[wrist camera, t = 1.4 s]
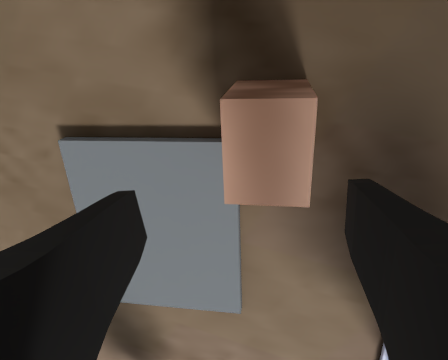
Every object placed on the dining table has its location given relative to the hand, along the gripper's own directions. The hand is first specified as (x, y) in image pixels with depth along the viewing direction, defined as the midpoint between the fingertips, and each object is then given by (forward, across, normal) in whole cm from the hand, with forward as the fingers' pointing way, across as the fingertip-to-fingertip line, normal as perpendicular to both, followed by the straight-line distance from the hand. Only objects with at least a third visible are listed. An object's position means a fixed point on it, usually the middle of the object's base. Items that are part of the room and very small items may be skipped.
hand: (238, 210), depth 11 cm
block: (+10, -1, 0) cm, 10 cm away
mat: (+10, +7, +8) cm, 14 cm away
